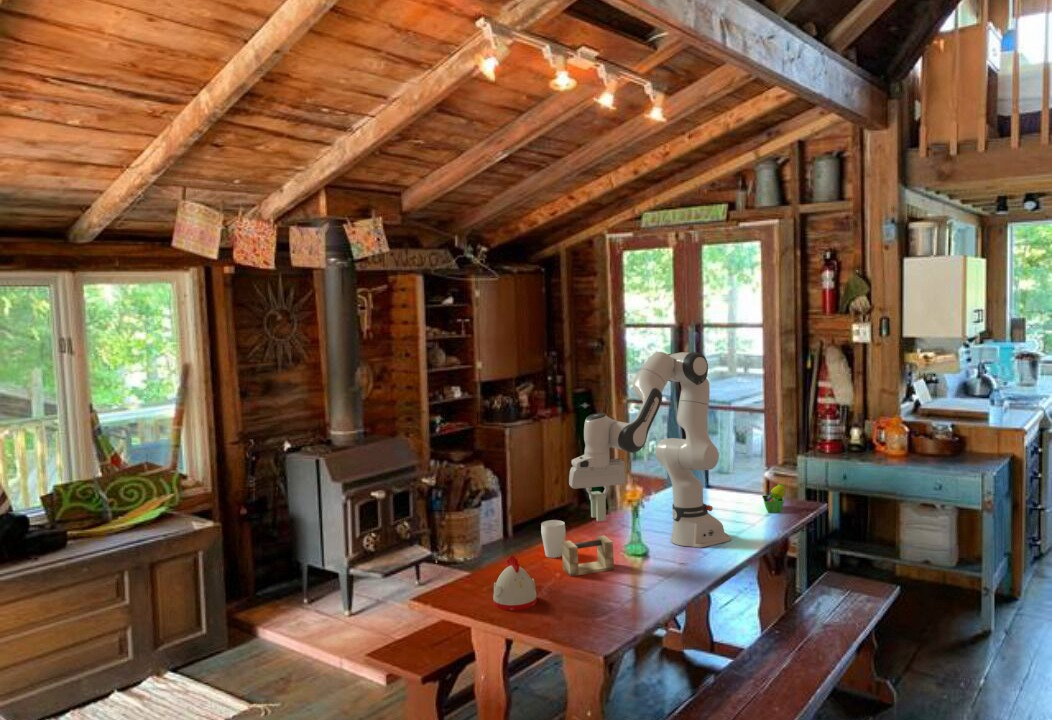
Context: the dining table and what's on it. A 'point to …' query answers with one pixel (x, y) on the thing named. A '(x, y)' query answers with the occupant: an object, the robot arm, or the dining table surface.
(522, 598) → the kitchen timer
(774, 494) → the fruit basket
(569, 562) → the wooden frame with rod
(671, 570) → the dining table surface
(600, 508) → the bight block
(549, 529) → the cup
